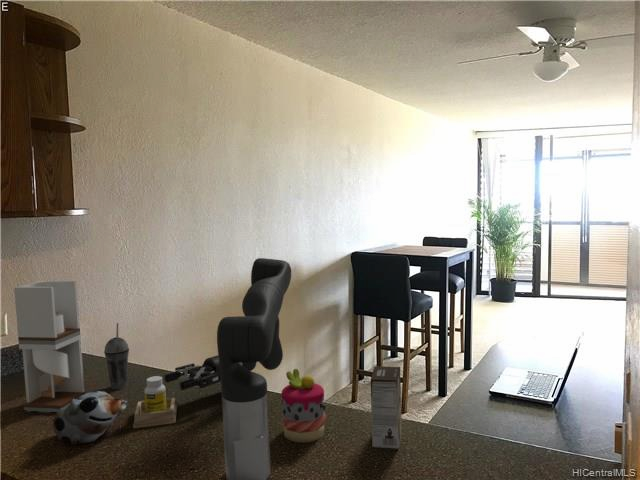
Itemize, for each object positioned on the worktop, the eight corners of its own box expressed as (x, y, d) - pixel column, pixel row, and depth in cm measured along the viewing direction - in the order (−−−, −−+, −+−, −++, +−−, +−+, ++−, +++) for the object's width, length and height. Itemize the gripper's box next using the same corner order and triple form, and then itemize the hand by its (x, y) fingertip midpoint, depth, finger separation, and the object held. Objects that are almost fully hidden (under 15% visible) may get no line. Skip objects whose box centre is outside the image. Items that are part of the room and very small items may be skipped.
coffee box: (375, 429, 125) (373, 365, 124) (401, 431, 124) (400, 366, 122) (371, 447, 116) (369, 378, 115) (400, 449, 115) (398, 379, 113)
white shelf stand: (24, 411, 143) (14, 287, 140) (50, 396, 153) (41, 281, 150) (60, 412, 141) (51, 287, 138) (84, 397, 151) (76, 280, 148)
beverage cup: (101, 390, 157) (96, 326, 156) (117, 381, 164) (112, 320, 162) (121, 392, 155) (116, 327, 153) (136, 383, 162) (132, 321, 160)
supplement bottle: (145, 419, 133) (142, 383, 132) (146, 411, 138) (144, 376, 138) (166, 416, 135) (164, 380, 134) (167, 408, 140) (165, 373, 139)
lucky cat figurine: (109, 416, 137) (127, 375, 134) (116, 450, 128) (135, 407, 125) (48, 416, 128) (65, 371, 125) (51, 452, 119) (70, 405, 116)
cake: (330, 425, 128) (328, 366, 127) (319, 445, 118) (317, 382, 117) (290, 421, 131) (288, 364, 130) (276, 440, 121) (273, 379, 120)
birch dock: (175, 422, 132) (174, 411, 132) (133, 428, 130) (132, 416, 130) (177, 406, 143) (176, 395, 143) (137, 410, 141) (137, 400, 140)
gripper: (209, 350, 155) (159, 363, 144) (236, 359, 145) (184, 375, 134) (210, 374, 156) (160, 389, 145) (237, 385, 146) (186, 402, 135)
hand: (172, 382), depth 140 cm, fingers open, 8 cm apart
